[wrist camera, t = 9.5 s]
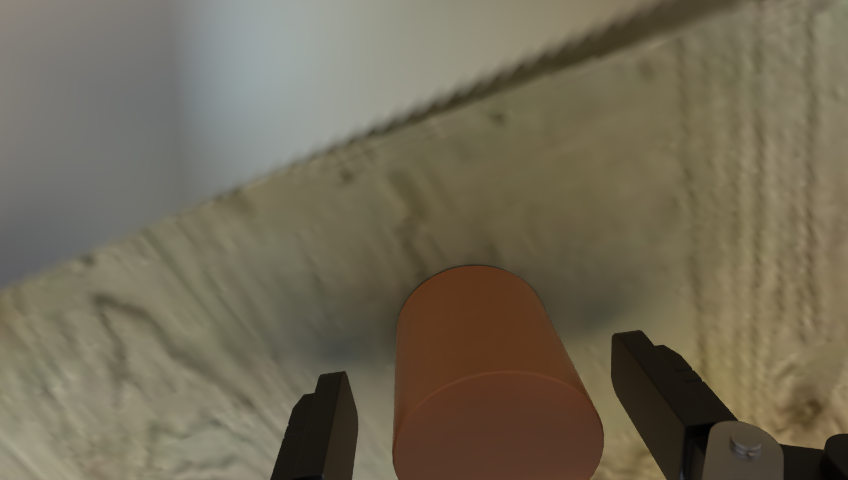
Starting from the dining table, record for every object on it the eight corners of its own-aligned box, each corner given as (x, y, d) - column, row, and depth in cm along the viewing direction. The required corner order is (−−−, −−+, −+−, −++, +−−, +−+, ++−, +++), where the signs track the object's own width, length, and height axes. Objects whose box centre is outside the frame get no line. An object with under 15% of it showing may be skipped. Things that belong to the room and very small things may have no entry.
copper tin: (366, 339, 15) (348, 469, 11) (467, 234, 14) (496, 331, 9) (474, 410, 17) (500, 550, 12) (575, 321, 15) (648, 443, 11)
